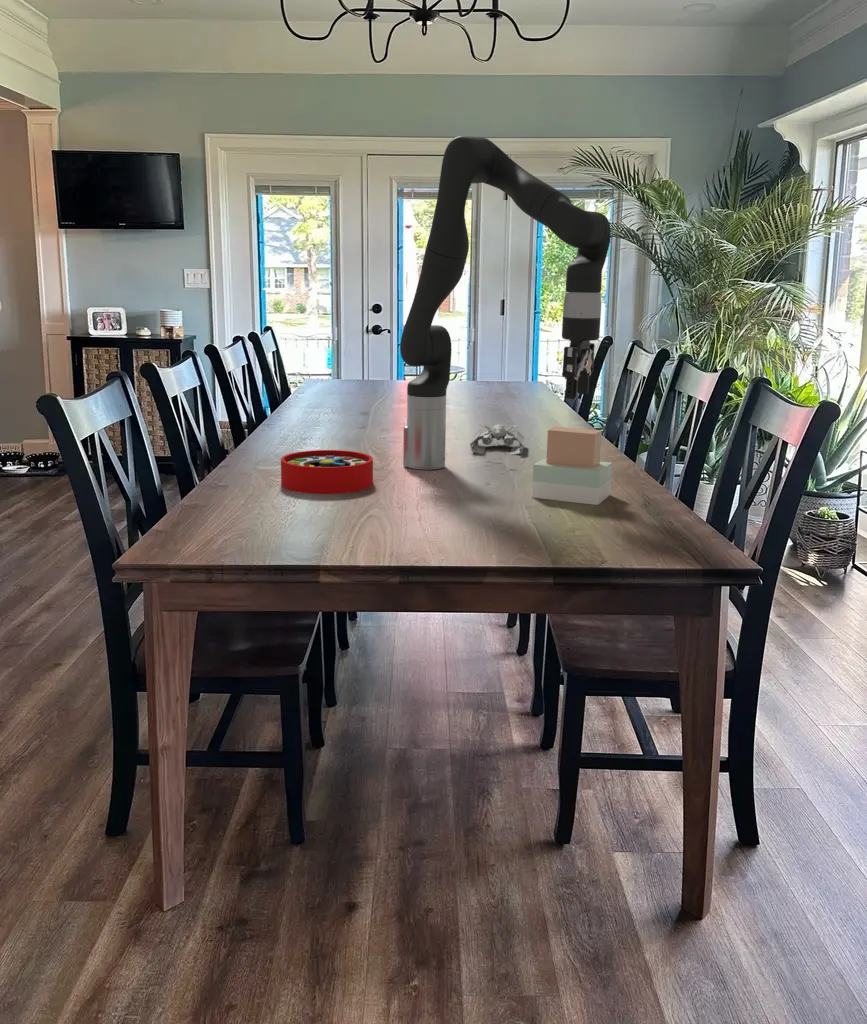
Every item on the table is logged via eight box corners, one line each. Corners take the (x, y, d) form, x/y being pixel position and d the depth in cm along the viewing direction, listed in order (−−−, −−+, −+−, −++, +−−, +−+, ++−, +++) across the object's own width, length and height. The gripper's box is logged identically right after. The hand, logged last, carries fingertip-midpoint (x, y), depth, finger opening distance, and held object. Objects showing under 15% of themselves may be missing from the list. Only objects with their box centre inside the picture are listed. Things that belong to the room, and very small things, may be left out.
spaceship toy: (469, 456, 238) (469, 432, 237) (474, 442, 258) (475, 420, 256) (523, 458, 237) (524, 434, 235) (525, 444, 256) (526, 421, 254)
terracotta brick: (593, 468, 190) (595, 434, 188) (546, 463, 194) (547, 430, 192) (599, 463, 194) (601, 430, 192) (553, 459, 198) (555, 426, 196)
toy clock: (261, 460, 199) (316, 446, 216) (262, 487, 200) (317, 471, 217) (338, 471, 189) (390, 456, 206) (338, 499, 191) (390, 481, 208)
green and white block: (531, 497, 194) (533, 464, 192) (546, 487, 203) (548, 456, 201) (597, 505, 188) (599, 471, 187) (610, 495, 197) (612, 462, 195)
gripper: (590, 317, 179) (585, 401, 183) (609, 314, 191) (603, 393, 195) (552, 316, 182) (548, 399, 186) (573, 313, 194) (569, 391, 198)
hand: (576, 396), depth 190 cm, fingers open, 8 cm apart
